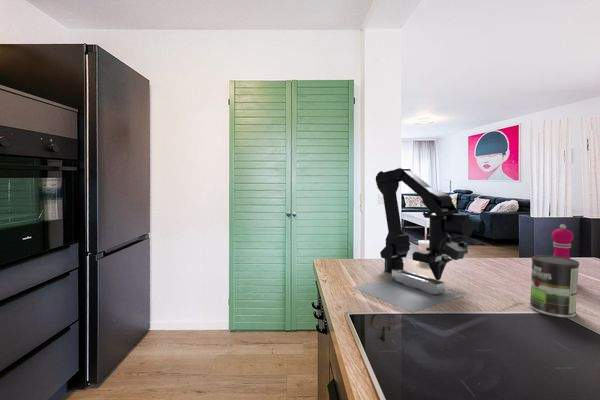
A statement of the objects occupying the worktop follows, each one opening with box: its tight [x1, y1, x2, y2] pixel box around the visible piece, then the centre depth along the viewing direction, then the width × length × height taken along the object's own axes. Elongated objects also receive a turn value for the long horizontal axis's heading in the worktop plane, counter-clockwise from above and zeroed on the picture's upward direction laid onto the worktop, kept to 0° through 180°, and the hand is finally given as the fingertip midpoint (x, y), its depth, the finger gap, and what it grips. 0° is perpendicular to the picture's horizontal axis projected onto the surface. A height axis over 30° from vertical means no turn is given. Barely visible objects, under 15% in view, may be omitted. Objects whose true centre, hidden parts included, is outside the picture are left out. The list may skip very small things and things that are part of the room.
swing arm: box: [391, 269, 446, 295], centre depth 108 cm, size 19×4×3 cm, turn 32°
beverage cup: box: [417, 229, 430, 264], centre depth 144 cm, size 6×6×14 cm
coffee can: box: [529, 254, 580, 318], centre depth 91 cm, size 10×10×14 cm
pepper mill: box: [551, 223, 574, 259], centre depth 116 cm, size 7×7×20 cm
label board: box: [352, 277, 464, 313], centre depth 104 cm, size 24×23×1 cm
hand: (437, 279), depth 109 cm, fingers closed
